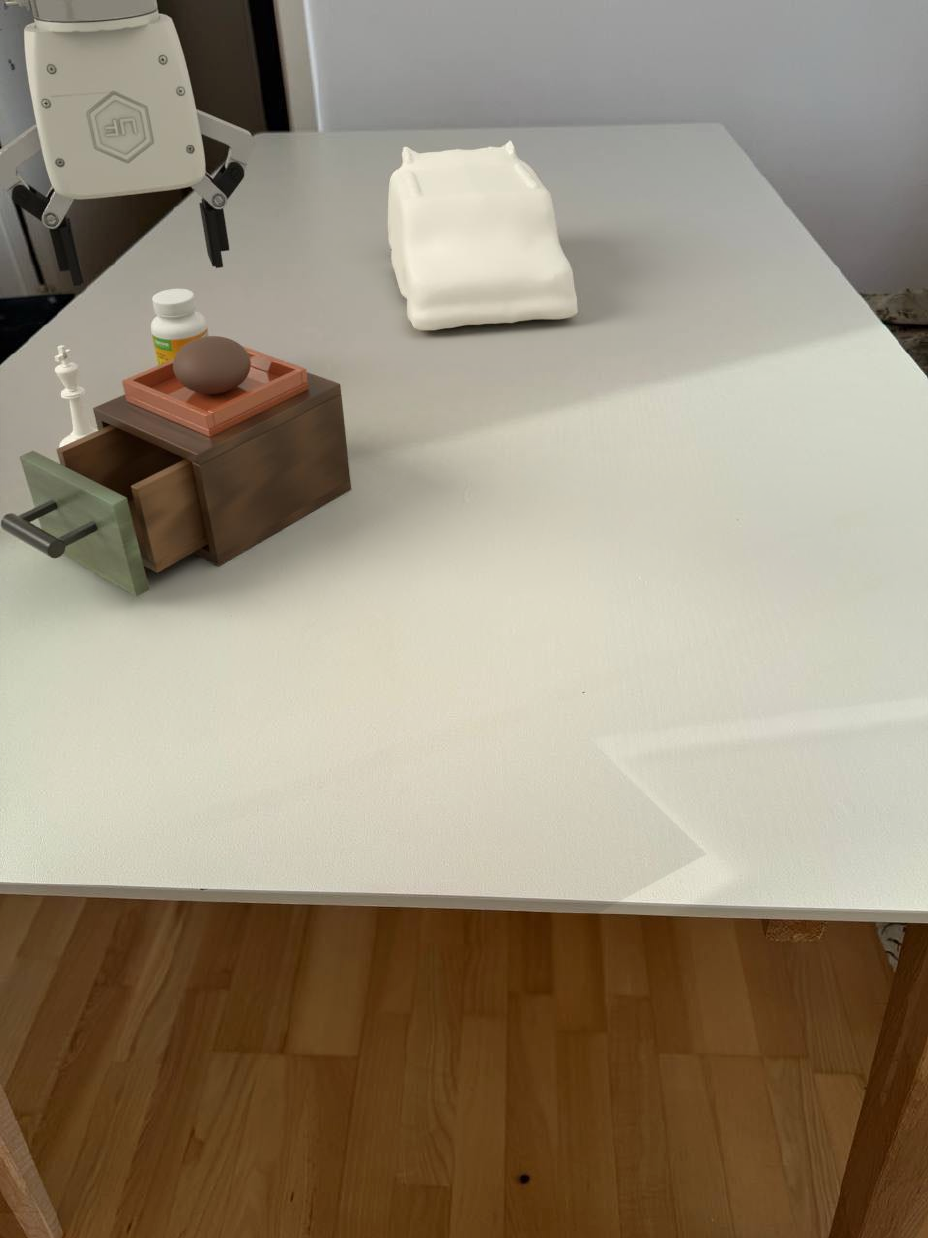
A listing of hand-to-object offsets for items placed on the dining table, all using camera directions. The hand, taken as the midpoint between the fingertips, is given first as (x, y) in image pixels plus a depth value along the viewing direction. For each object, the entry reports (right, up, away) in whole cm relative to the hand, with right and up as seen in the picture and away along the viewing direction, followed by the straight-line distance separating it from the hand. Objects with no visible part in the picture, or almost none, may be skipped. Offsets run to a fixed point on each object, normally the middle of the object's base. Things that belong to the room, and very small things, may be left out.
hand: (147, 270), depth 78 cm
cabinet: (+3, -15, +15) cm, 21 cm away
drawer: (-3, -19, +9) cm, 21 cm away
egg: (+3, -7, +9) cm, 12 cm away
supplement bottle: (-5, -2, +33) cm, 34 cm away
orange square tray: (+3, -7, +9) cm, 12 cm away
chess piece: (-12, -9, +24) cm, 28 cm away
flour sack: (+24, +15, +54) cm, 61 cm away
